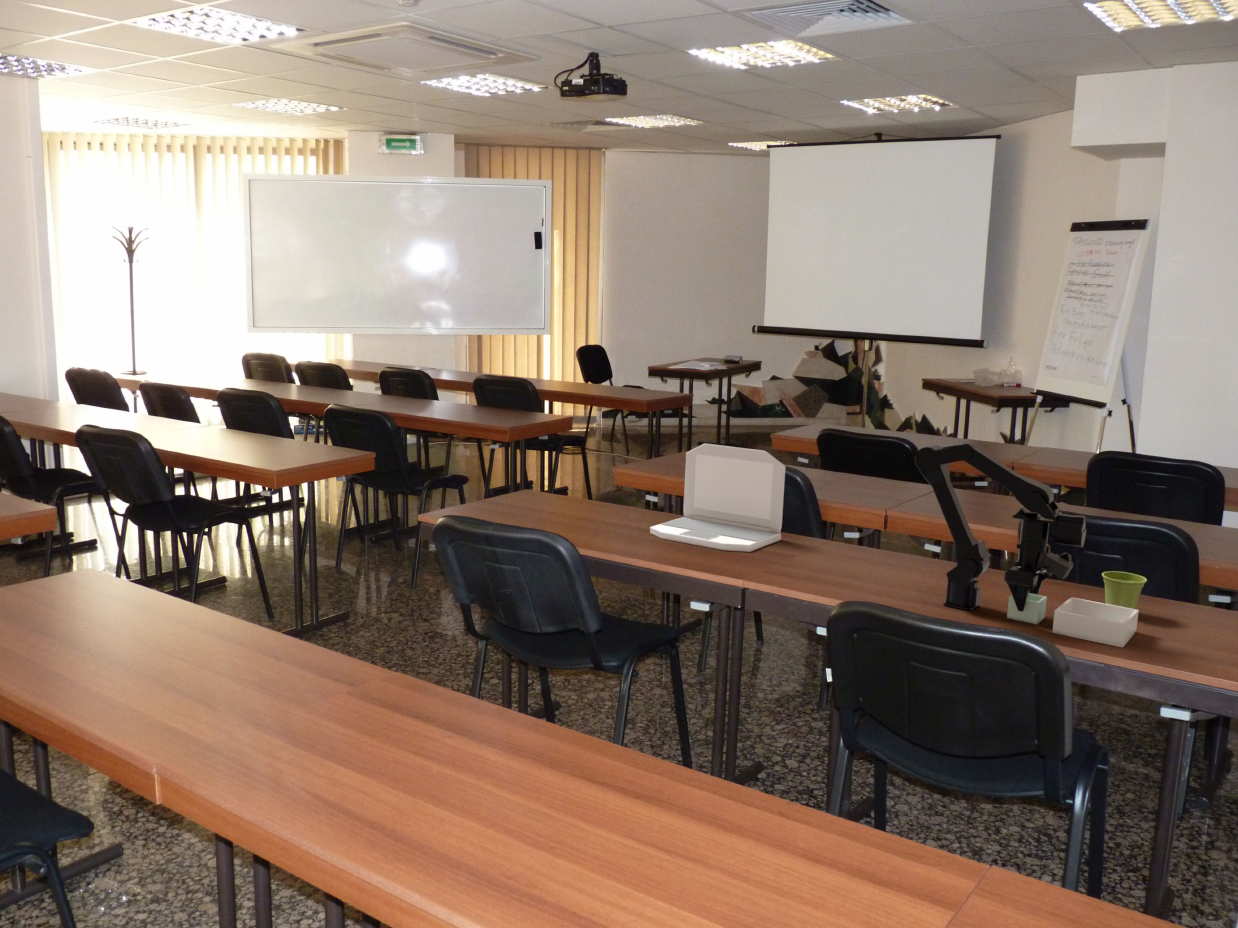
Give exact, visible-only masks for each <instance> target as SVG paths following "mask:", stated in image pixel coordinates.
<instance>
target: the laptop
mask: <svg viewBox="0 0 1238 928" xmlns="http://www.w3.org/2000/svg"><path fill="white" fill-rule="evenodd" d="M684 471H685V472H684V490H683V491H684V494H683V495H684V496H683V497H684V498H683V516H682V517H679V518H675V519H672V520H668V521H666V522H662V523H660V524H659V523H658V524H656V525H652V526H650V527H649V530H650V531H649V533H650V534H651V535H654V536H656V537H658V538H660V539H662V540H667V541H672V542H673V541H674V542H678V543H679V542H680V543H684V544H689V545H695V546H700V547H704V548H705V547H706V548H709V549H714V550H720V551H730V552H731V551H732V552H745V553H746V552H748V553H749V552H750V553H751V552H753V551H755V550H758V549H761V548H763V547H765V546H766V547H767V546H769V545H771V544H774V543H776V542H779V541H781V539H782V533H781V531H782V530H781V529H782V525H783V513H784V511H783V510H784V497H785V496H784V494H785V482H786V481H785V480H786V478H785V477H786V465H784V463H782V462H780V461H779V460H778V459H777V458H775V457H774V456H773V455H772V454H770V453H769V452H767V451H766V450H762V449H752V448H745V447H736V446H730V445H720V444H712V443H703V444H701V445H698V446H696V447H695V448H692V449H690V450H689V451H687V452H686V453H685V469H684Z"/></svg>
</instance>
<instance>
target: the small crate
mask: <svg viewBox="0 0 1238 928" xmlns="http://www.w3.org/2000/svg"><path fill="white" fill-rule="evenodd" d="M1047 600H1048V596H1044V595H1040V594H1038V595H1036V594H1030V593H1029V594H1028V598H1027V601H1026V605H1025V608H1024V611H1023V612H1021V611H1018V609H1017V607H1016V604H1015V601H1014V598H1013V596H1012V594H1011V595H1010V596H1008V602H1007V603H1008V605H1007V615H1006V619H1010V620H1014V621H1019V622H1024V623H1029V624H1033V625H1038V624H1040V622H1042V621H1043V620H1044V619H1045V617H1046V609H1047V602H1048V601H1047Z"/></svg>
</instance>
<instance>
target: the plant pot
mask: <svg viewBox="0 0 1238 928" xmlns="http://www.w3.org/2000/svg"><path fill="white" fill-rule="evenodd" d="M1101 577H1102V578H1103V582H1104V597H1105V604H1110V605H1115V606H1121V607H1126V608H1131V609H1136V610H1137V605H1138V604H1139V603H1138V602H1139V599H1140V596H1141V592H1142V588H1144V586H1145V584H1146V583H1147V581H1148V579H1147V578H1146V577H1145V576H1142V575H1139V574H1135V573H1130V572H1126V571H1113V570H1112V571H1111V570H1110V571H1104V572H1102V573H1101Z"/></svg>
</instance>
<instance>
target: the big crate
mask: <svg viewBox="0 0 1238 928" xmlns="http://www.w3.org/2000/svg"><path fill="white" fill-rule="evenodd" d="M1138 618H1139V609H1137V608H1136V609H1131V608H1126V607H1121V606H1115V605H1110V604H1105V603H1104V602H1099V601H1095V600H1094V601H1093V600H1089V599H1084V598H1079V597H1069V598H1068V599H1067V600H1065V601H1064V602H1063V603H1061V605H1059V606H1058V607H1057V608H1056V609H1055V610H1054V613H1053V623H1052V631H1051V632H1052V634H1053V633H1054V634H1057V635H1062V636H1067V637H1072V638H1077V639H1080V640H1081V639H1082V640H1086V641H1091V642H1095V643H1101V644H1105V645H1109V646H1113V647H1118V648H1119V647H1120V648H1124V646H1125V645H1126V644H1127V643H1128V642H1129V641H1130V640H1131V638H1133V636H1134V635H1135V634H1136V633H1137V626H1138V621H1139V619H1138ZM1135 632H1136V633H1135Z"/></svg>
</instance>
